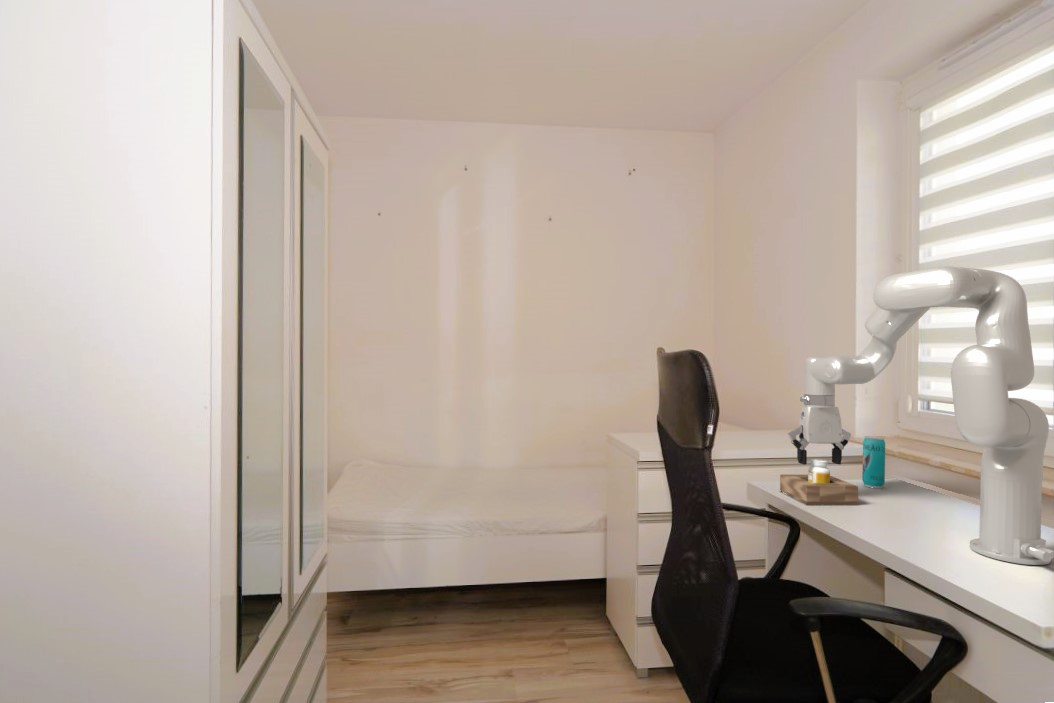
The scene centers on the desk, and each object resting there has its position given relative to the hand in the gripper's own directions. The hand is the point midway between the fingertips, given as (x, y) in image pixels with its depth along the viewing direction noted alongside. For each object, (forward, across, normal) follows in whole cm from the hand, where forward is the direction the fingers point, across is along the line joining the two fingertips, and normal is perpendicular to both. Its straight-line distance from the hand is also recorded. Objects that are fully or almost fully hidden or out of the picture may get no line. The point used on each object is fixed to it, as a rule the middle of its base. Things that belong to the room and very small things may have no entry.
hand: (819, 463), depth 157 cm
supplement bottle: (+9, 0, 0) cm, 9 cm away
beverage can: (+10, +25, +14) cm, 30 cm away
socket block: (+10, 0, +1) cm, 10 cm away
